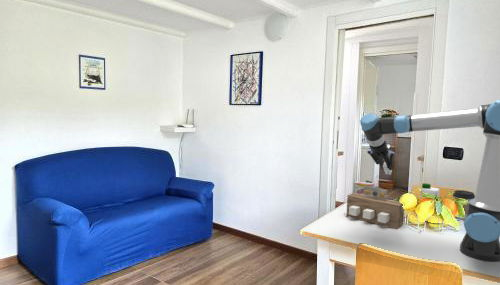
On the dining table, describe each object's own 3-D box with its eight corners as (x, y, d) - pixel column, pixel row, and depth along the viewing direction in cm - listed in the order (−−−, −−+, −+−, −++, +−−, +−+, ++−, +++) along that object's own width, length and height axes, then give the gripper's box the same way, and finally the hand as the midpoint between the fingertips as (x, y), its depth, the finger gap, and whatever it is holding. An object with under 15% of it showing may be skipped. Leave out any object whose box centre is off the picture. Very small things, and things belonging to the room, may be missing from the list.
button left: (355, 215, 187) (356, 208, 186) (348, 214, 190) (349, 207, 189) (360, 213, 191) (361, 206, 191) (354, 212, 194) (354, 205, 193)
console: (396, 229, 177) (399, 194, 175) (346, 216, 196) (348, 184, 194) (402, 225, 182) (405, 191, 181) (353, 213, 202) (355, 182, 200)
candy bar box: (352, 209, 210) (353, 182, 208) (353, 207, 214) (354, 180, 213) (371, 212, 205) (373, 184, 204) (372, 210, 210) (374, 183, 208)
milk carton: (420, 217, 198) (423, 182, 196) (438, 220, 193) (441, 184, 191) (417, 220, 191) (420, 184, 189) (435, 224, 186) (438, 187, 184)
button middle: (369, 219, 181) (370, 212, 181) (362, 217, 184) (363, 210, 184) (375, 217, 185) (375, 209, 185) (367, 215, 188) (368, 208, 188)
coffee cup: (449, 214, 206) (451, 189, 204) (471, 216, 202) (473, 191, 200) (452, 219, 195) (454, 193, 194) (476, 222, 191) (478, 195, 190)
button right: (385, 223, 176) (385, 215, 175) (377, 221, 178) (377, 213, 178) (390, 220, 180) (390, 213, 180) (382, 219, 183) (382, 211, 182)
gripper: (359, 146, 167) (373, 176, 181) (388, 149, 157) (400, 180, 171) (365, 134, 170) (378, 165, 184) (394, 136, 161) (405, 168, 174)
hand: (389, 172), depth 177 cm, fingers closed
